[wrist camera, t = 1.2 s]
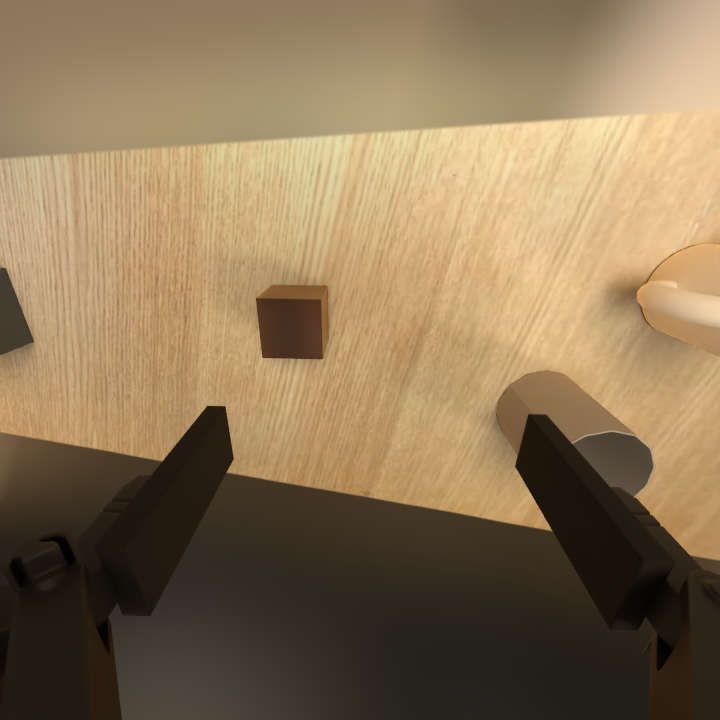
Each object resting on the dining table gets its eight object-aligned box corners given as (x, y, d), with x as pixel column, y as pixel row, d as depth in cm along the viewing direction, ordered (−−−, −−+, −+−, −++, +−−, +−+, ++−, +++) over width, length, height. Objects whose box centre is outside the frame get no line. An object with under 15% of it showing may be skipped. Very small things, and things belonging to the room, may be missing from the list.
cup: (587, 424, 37) (661, 496, 27) (510, 451, 38) (556, 528, 29) (568, 357, 34) (644, 413, 24) (486, 390, 35) (529, 454, 26)
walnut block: (327, 286, 31) (321, 299, 27) (328, 338, 33) (323, 359, 29) (272, 284, 31) (256, 298, 27) (276, 337, 33) (262, 358, 29)
